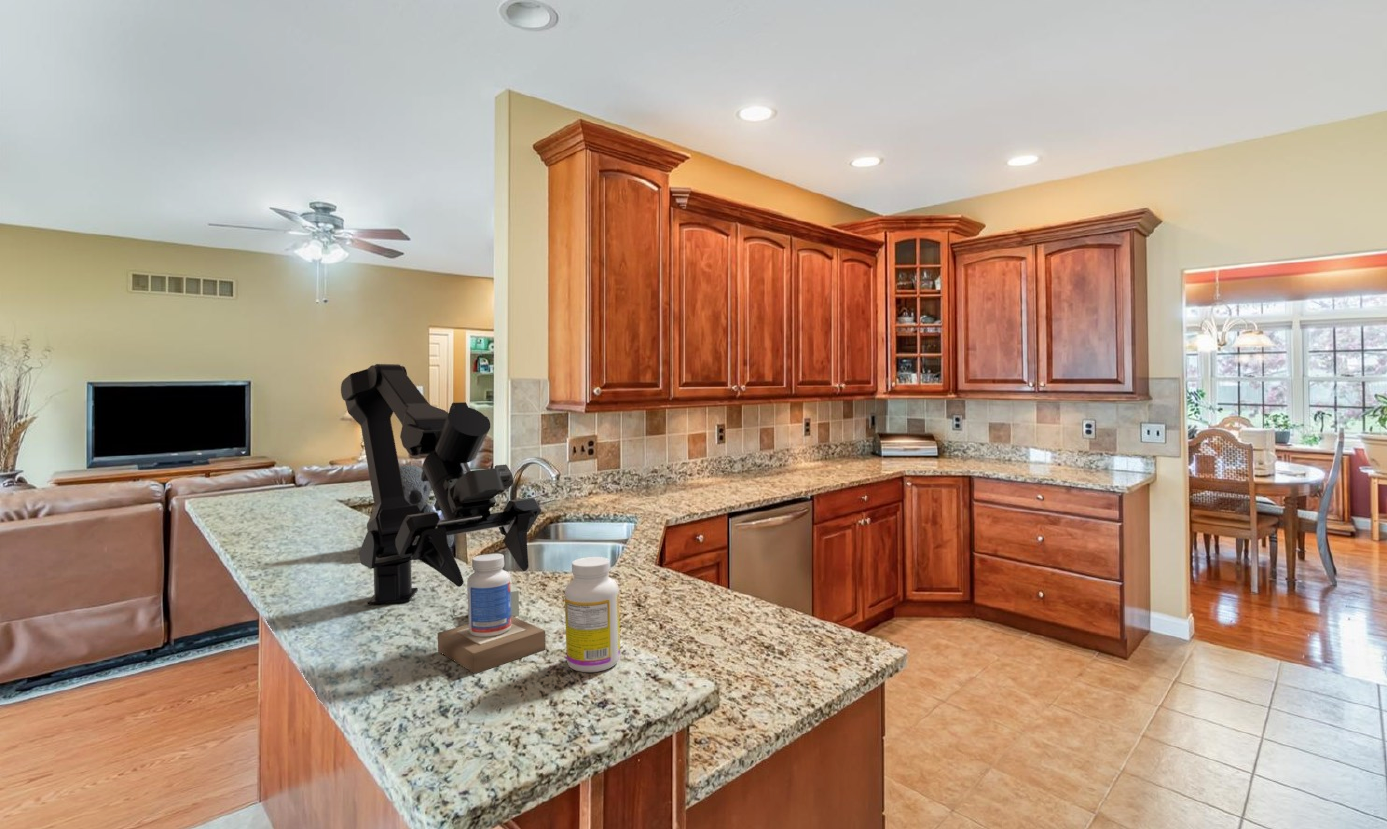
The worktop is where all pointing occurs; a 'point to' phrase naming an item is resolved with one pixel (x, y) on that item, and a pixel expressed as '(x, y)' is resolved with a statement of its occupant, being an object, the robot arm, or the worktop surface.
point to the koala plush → (418, 491)
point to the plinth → (491, 645)
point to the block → (514, 600)
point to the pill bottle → (489, 596)
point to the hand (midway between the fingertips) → (495, 576)
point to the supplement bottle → (592, 616)
